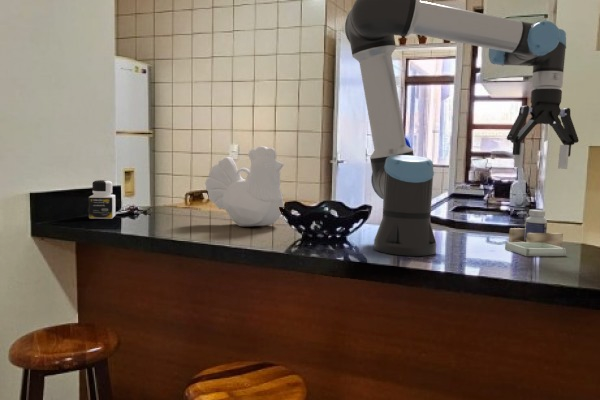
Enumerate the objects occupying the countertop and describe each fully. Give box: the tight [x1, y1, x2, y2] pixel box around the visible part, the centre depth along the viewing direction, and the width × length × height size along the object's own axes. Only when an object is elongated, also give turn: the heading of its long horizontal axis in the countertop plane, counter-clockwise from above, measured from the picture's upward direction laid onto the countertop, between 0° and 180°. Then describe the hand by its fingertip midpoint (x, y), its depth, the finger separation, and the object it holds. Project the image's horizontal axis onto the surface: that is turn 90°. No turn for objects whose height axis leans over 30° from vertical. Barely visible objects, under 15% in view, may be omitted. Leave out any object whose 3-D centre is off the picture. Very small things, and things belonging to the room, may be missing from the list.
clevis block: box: [508, 227, 564, 248], centre depth 145 cm, size 10×9×4 cm
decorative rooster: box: [204, 145, 285, 227], centre depth 164 cm, size 25×16×25 cm, turn 63°
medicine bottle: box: [88, 179, 116, 220], centre depth 170 cm, size 7×7×12 cm
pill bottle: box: [524, 209, 548, 242], centre depth 145 cm, size 5×5×10 cm
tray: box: [504, 241, 567, 257], centre depth 134 cm, size 11×9×2 cm
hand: (540, 168), depth 144 cm, fingers open, 13 cm apart
